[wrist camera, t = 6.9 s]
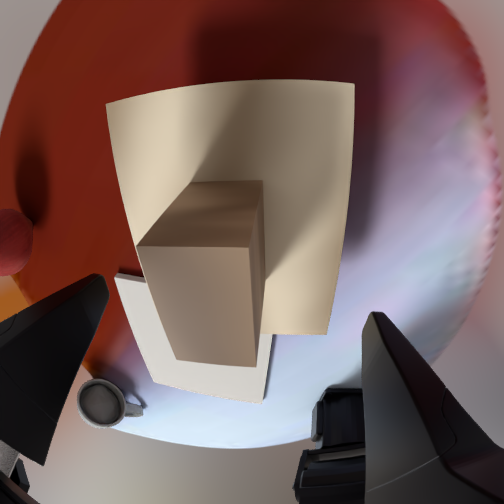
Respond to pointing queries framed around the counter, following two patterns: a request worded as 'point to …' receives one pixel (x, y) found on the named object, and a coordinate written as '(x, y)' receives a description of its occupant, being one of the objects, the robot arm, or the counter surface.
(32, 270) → the counter surface
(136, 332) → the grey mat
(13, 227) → the onion
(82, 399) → the ceramic mug
